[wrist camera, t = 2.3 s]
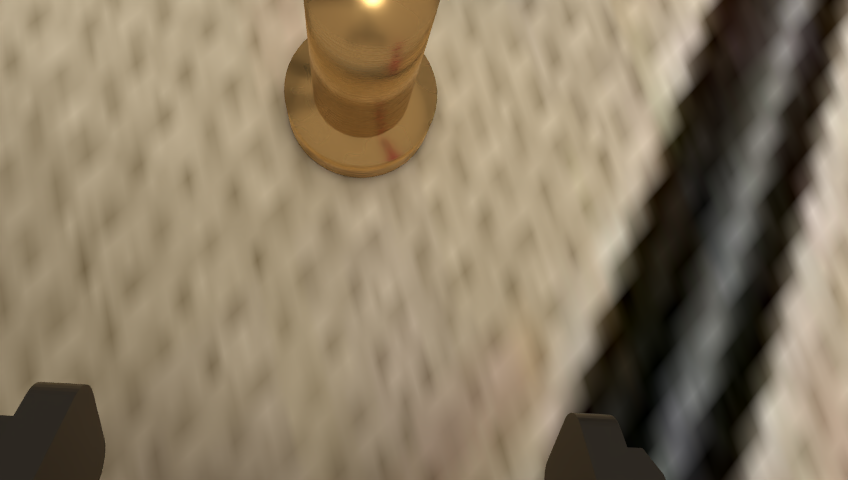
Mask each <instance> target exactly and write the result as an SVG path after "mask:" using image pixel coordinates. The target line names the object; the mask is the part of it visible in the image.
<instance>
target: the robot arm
mask: <svg viewBox="0 0 848 480" xmlns="http://www.w3.org/2000/svg"><path fill="white" fill-rule="evenodd" d="M104 458H105V440H104V435H103V431H102V427H101V423H100V419H99V415H98V411H97V407H96V403H95V399H94V395H93V391H92V389H91V387H90V386H89V385H85V384H67V383H49V382H38V383H36V384H34V385H33V386H32V387H31V388H30V389H29V391H28V392H27V394H26V395H25V397H24V399H23V401H22V402H21V404H20V406H19V407H18V409H17V411H16V413H15V414H14V416H3V415H0V480H99V479H100V476H101V473H102V469H103V464H104ZM545 480H666V479H665V477H664V475H663V473H662V472H661V471H660V470H659V468H658V467H657V466H656V465H655V463H654V462H653V461H652V460H651V458H650V457H649V456H648V455H647V454H646V452H645V451H644V450H643V449H642V448H627V446H626V443H625V440H624V437H623V434H622V432H621V429H620V426H619V424H618V422H617V420H616V419H615V417H613V416H612V415H602V414H584V413H569V414H568V415H567V416H566V418H565V421H564V423H563V425H562V428H561V430H560V433H559V435H558V437H557V440H556V442H555V444H554V447H553V449H552V451H551V454H550V456H549V459H548V461H547V464H546V469H545Z"/></svg>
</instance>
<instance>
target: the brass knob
mask: <svg viewBox="0 0 848 480" xmlns="http://www.w3.org/2000/svg"><path fill="white" fill-rule="evenodd" d="M439 2H440V0H304V8H305V18H306V28H307V37H308V39H306V40H305V41H304V42H303V44H302V45H301V46H300V47H299V48H298V50H297V51H296V53H295V54H294V55H293V57H292V60H291V62H290V64H289V66H288V69H287V73H286V78H285V87H284V94H285V102H286V107H287V111H288V116H289V120H290V124H291V128H292V131H293V133H294V136H295V138H296V139H297V141H298V143H299V145H300V146H301V147H302V149H303V150H304V151H305V152H306V154H307V155H308V156H309V157H310V158H311V159H313V160H314V161H315V162H316V163H318V164H319V165H321V166H322V167H324V168H326V169H327V170H330V171H332V172H334V173H337V174H340V175H344V176H349V177H358V178H366V177H375V176H379V175H383V174H386V173H388V172H391V171H393V170H395V169H397V168H399V167H400V166H401V165H403V164H404V163H406V162H407V161H408V160H409V159H410V158H411V157H412V156H413V155H414V154H415V153H416V151H417V150H418V149H419V147H420V146H421V144H422V142H423V140H424V138H425V136H426V133H427V131H428V129H429V126H430V124H431V122H432V120H433V117H434V113H435V110H436V103H437V87H436V81H435V77H434V73H433V71H432V68H431V66H430V63H429V62H428V60H427V58H426V57H425V55H424V51H425V48H426V45H427V41H428V38H429V35H430V31H431V28H432V25H433V22H434V18H435V15H436V12H437V8H438V5H439Z"/></svg>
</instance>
